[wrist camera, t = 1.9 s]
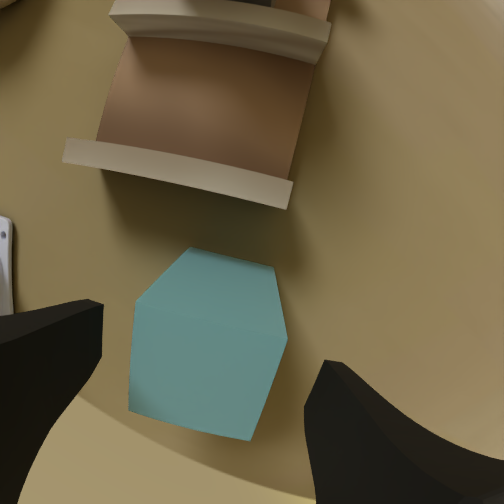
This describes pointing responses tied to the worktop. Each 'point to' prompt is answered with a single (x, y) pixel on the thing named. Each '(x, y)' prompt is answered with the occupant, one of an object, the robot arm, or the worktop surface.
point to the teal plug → (207, 344)
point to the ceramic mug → (5, 3)
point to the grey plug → (259, 2)
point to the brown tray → (209, 94)
